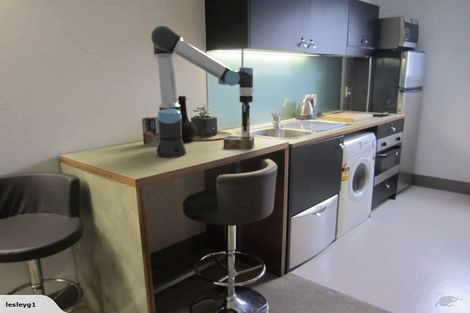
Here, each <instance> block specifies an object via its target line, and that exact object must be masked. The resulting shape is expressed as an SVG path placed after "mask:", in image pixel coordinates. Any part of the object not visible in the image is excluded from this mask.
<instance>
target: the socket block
mask: <svg viewBox="0 0 470 313" xmlns="http://www.w3.org/2000/svg"><path fill="white" fill-rule="evenodd" d="M229 136H230V135H228V134H227V136H225V137H224V138H223V148H224V149H249V150H250V149H251V150H252V148H253V147H254V145H255V136H254V135H250V139H243V135H235V136H236V138H229Z"/></svg>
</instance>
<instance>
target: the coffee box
mask: <svg viewBox="0 0 470 313" xmlns="http://www.w3.org/2000/svg"><path fill="white" fill-rule="evenodd" d="M141 125H142V128H141V129H142V137H143V140H142V141H143V146H153V147H158V144H159V123H158V116H156V117H153V116H152V117H151V116H149V117H148V116H147V117H144V118H141Z"/></svg>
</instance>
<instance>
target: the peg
mask: <svg viewBox="0 0 470 313" xmlns="http://www.w3.org/2000/svg"><path fill="white" fill-rule="evenodd" d="M247 124H248V125H247V126H248V137H243V139H250V136H251V135H250V134H251V133H250V129H251V128H250V127H251V126H250V125H251V119H250V117H249V118H248V121H247Z"/></svg>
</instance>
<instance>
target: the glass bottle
mask: <svg viewBox="0 0 470 313" xmlns="http://www.w3.org/2000/svg"><path fill="white" fill-rule="evenodd" d="M186 97H187V96H185V95H179V96H178V95H177V101H178V104H179V105H180V107H181V116H182V122H181V129H182V141H183V143H185V142H190V141H191V140H193V139H194V138H195V137H196V135H197V132H198V129H197V125H196V124H195V123H193V121H190V119H189V116H188V111H187V100H188V98H186Z"/></svg>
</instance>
